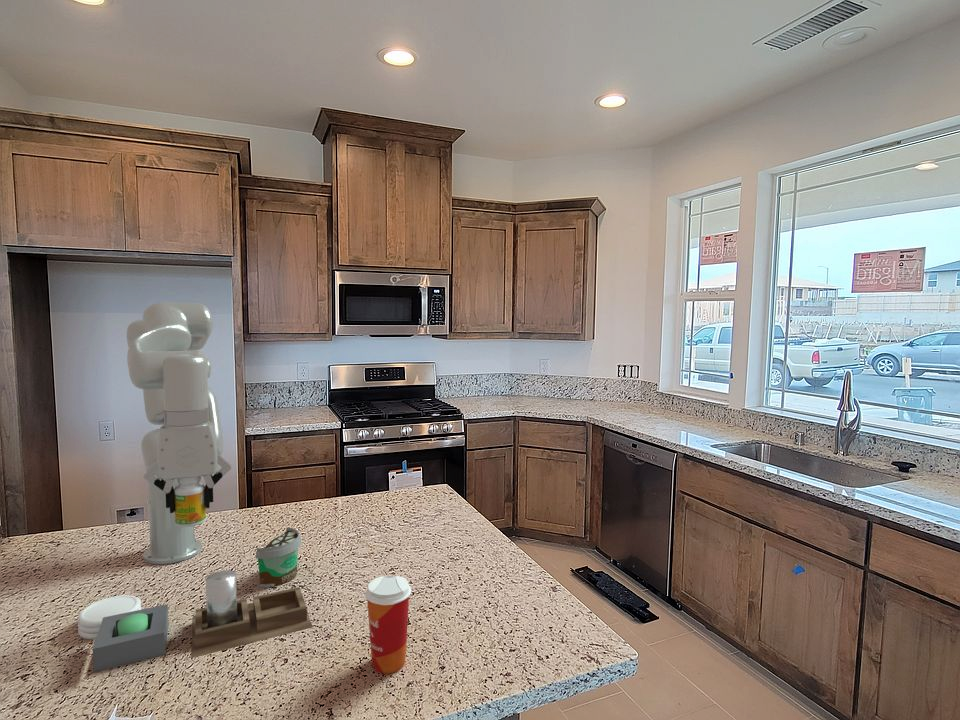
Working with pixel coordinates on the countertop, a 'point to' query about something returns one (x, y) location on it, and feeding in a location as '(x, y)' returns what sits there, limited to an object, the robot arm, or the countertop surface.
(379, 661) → the paper cup
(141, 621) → the button
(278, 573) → the food container
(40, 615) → the countertop surface
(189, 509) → the supplement bottle
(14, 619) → the countertop surface
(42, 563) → the countertop surface
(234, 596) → the billet
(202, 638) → the double slot desk organizer
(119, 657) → the gray square holder
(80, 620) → the round white lidded container
